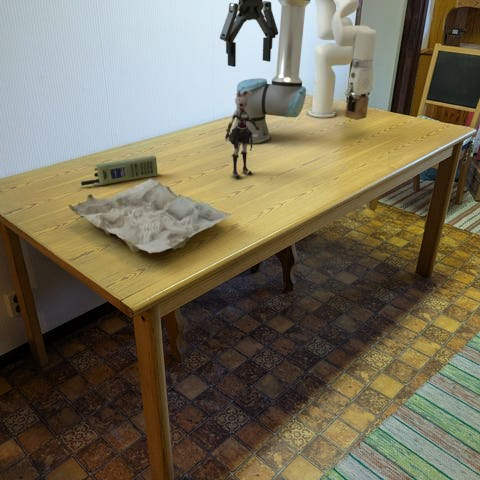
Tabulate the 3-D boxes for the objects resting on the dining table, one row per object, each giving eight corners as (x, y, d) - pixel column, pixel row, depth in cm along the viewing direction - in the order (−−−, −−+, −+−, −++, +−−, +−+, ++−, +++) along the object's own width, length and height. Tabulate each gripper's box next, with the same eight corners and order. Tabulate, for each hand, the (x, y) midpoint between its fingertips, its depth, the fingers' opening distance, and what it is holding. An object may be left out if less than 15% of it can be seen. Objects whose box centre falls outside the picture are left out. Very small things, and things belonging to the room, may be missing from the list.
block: (356, 120, 202) (359, 99, 198) (345, 116, 206) (347, 96, 202) (366, 117, 205) (368, 97, 201) (354, 114, 209) (357, 94, 205)
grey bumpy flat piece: (148, 192, 160) (63, 221, 139) (147, 174, 157) (60, 201, 136) (236, 233, 139) (152, 274, 118) (238, 213, 136) (151, 251, 115)
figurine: (229, 182, 166) (230, 89, 151) (218, 177, 170) (217, 86, 155) (261, 171, 175) (264, 82, 160) (249, 166, 178) (251, 79, 164)
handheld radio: (158, 176, 170) (83, 189, 160) (155, 173, 172) (80, 186, 162) (156, 157, 167) (79, 169, 157) (153, 154, 169) (77, 166, 159)
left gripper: (223, -16, 130) (224, 70, 140) (292, -18, 144) (288, 60, 154) (206, -17, 135) (208, 66, 145) (274, -19, 149) (271, 57, 159)
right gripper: (355, 67, 188) (349, 115, 197) (384, 62, 198) (377, 108, 207) (340, 64, 193) (335, 111, 202) (368, 59, 203) (362, 104, 212)
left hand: (249, 63), depth 150 cm, fingers open, 13 cm apart
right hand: (356, 109), depth 204 cm, fingers closed on block, 6 cm apart
